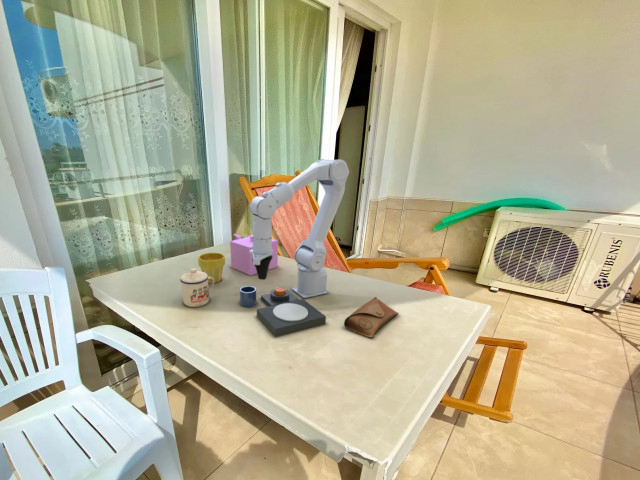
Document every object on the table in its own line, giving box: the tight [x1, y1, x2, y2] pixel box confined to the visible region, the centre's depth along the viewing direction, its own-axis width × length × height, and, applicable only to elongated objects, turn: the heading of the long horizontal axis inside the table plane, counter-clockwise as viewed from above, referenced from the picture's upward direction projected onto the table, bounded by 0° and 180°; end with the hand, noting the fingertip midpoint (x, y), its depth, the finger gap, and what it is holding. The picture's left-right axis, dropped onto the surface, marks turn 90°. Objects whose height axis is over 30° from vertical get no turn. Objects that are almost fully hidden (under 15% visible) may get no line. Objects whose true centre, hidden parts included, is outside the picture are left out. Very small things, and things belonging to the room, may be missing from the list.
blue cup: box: [239, 285, 257, 308], centre depth 99 cm, size 5×5×5 cm
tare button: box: [274, 287, 286, 295], centre depth 99 cm, size 3×3×2 cm
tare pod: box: [260, 289, 300, 307], centre depth 100 cm, size 10×8×3 cm
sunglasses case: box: [343, 296, 400, 338], centre depth 86 cm, size 18×7×7 cm
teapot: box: [229, 233, 279, 276], centre depth 129 cm, size 15×25×14 cm, turn 38°
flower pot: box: [197, 251, 226, 284], centre depth 117 cm, size 10×10×10 cm
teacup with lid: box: [179, 267, 215, 308], centre depth 101 cm, size 12×9×12 cm
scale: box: [256, 298, 327, 338], centre depth 88 cm, size 16×12×3 cm
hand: (262, 278), depth 97 cm, fingers closed
